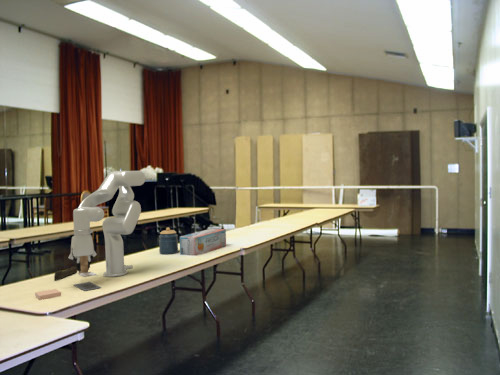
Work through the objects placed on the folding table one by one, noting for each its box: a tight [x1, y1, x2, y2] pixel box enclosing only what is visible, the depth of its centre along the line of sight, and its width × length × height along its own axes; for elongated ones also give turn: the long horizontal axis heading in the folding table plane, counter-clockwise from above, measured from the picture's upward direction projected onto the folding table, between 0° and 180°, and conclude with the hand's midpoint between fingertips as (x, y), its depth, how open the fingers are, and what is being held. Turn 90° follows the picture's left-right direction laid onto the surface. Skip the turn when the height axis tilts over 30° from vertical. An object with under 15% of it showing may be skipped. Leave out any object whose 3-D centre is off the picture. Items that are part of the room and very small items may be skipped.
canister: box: [158, 227, 179, 255], centre depth 305 cm, size 13×13×18 cm
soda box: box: [179, 228, 227, 256], centre depth 312 cm, size 41×14×13 cm, turn 153°
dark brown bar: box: [53, 265, 78, 281], centre depth 239 cm, size 19×4×5 cm, turn 169°
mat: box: [73, 281, 102, 292], centre depth 216 cm, size 8×16×1 cm, turn 39°
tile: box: [34, 288, 62, 301], centre depth 200 cm, size 9×2×8 cm
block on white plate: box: [77, 255, 98, 278], centre depth 215 cm, size 6×12×9 cm, turn 39°
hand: (83, 269), depth 218 cm, fingers closed on block on white plate, 3 cm apart
